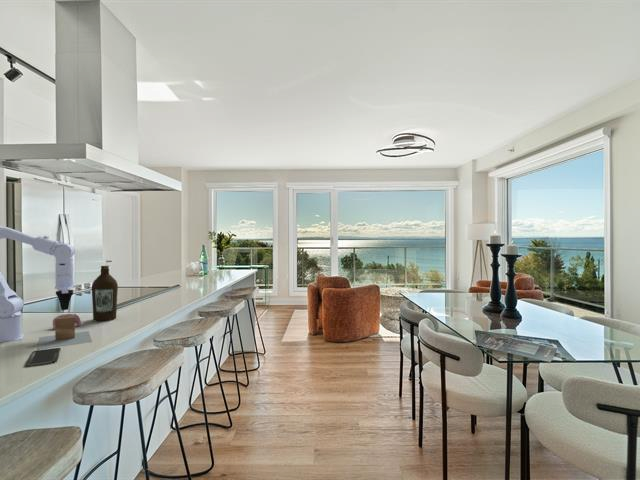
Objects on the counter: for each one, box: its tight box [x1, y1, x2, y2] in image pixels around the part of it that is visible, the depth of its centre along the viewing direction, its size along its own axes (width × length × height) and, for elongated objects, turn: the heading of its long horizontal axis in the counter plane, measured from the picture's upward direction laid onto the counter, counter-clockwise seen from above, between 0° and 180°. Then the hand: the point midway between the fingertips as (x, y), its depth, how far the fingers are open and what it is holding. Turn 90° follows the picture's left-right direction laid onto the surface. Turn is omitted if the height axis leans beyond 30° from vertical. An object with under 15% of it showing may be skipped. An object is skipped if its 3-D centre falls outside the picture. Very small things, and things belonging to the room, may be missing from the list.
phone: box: [25, 347, 62, 368], centre depth 120 cm, size 8×1×15 cm
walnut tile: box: [54, 316, 76, 341], centre depth 139 cm, size 2×6×8 cm, turn 126°
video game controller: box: [52, 313, 82, 331], centre depth 157 cm, size 10×5×7 cm, turn 135°
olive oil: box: [91, 265, 119, 322], centre depth 173 cm, size 11×11×25 cm
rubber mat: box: [37, 330, 93, 350], centre depth 139 cm, size 18×16×1 cm
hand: (64, 309), depth 145 cm, fingers closed
